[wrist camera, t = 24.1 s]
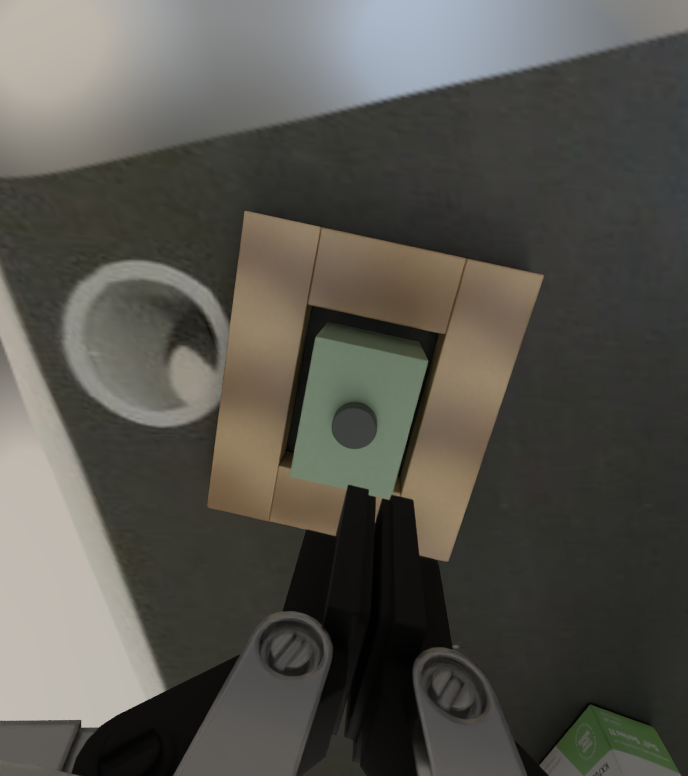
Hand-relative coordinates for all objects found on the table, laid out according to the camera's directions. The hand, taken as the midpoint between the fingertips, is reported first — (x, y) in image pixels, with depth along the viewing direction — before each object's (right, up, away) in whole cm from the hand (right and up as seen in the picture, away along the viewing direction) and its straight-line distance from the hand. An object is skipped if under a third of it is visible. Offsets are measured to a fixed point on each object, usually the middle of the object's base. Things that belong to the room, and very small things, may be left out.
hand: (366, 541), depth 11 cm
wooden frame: (0, +4, +13) cm, 14 cm away
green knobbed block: (0, +4, +13) cm, 14 cm away
